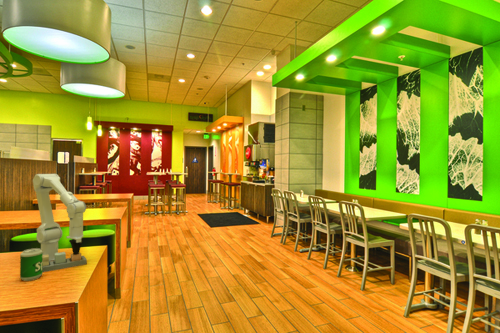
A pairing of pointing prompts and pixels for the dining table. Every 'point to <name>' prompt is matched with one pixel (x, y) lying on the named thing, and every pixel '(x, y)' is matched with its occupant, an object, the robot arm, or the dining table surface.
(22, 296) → the dining table surface
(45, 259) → the maple key
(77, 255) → the orange brown cube
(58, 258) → the pale green cube
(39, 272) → the soda can
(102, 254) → the dining table surface
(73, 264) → the button board
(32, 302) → the dining table surface
